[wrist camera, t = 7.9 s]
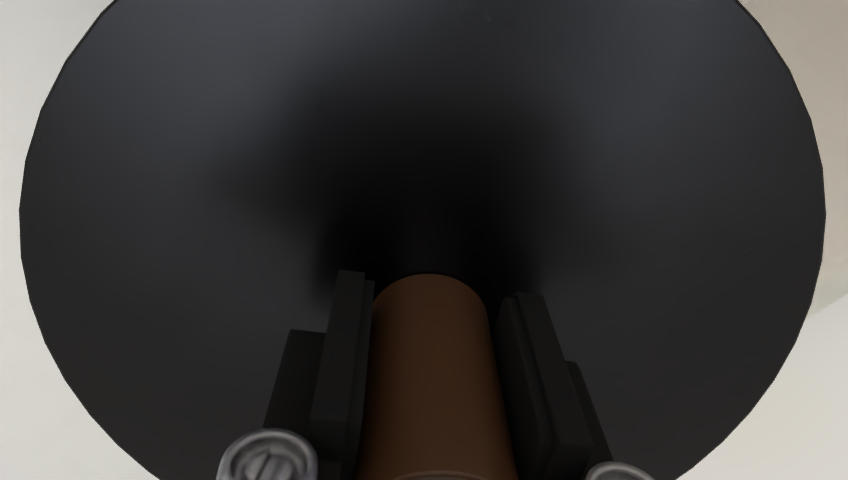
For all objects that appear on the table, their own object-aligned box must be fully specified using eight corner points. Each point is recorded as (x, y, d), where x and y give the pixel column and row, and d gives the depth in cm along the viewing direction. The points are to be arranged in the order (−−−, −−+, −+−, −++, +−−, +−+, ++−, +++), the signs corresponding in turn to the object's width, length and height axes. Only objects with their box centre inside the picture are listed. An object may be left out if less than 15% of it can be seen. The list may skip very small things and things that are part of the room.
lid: (788, -292, 9) (1345, -578, 4) (800, 450, 17) (983, 704, 11) (-139, 59, 11) (-643, 202, 6) (254, 572, 19) (193, 834, 14)
